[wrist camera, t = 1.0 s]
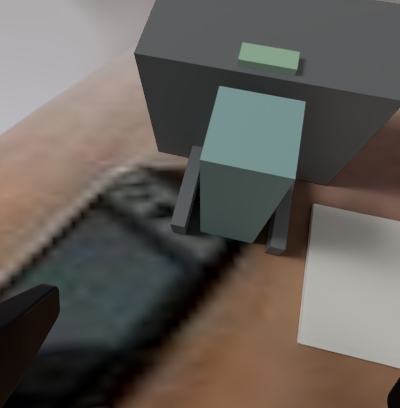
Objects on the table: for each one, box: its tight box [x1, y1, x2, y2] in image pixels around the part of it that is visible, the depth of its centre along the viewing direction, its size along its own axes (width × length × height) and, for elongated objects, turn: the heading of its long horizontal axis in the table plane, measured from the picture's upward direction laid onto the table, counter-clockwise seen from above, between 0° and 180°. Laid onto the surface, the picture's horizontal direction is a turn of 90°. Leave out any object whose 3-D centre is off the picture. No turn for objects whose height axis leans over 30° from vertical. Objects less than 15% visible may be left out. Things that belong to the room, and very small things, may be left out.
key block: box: [200, 86, 306, 243], centre depth 18 cm, size 4×4×11 cm
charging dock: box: [134, 0, 400, 256], centre depth 20 cm, size 14×14×10 cm
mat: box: [297, 204, 400, 368], centre depth 21 cm, size 10×10×1 cm
